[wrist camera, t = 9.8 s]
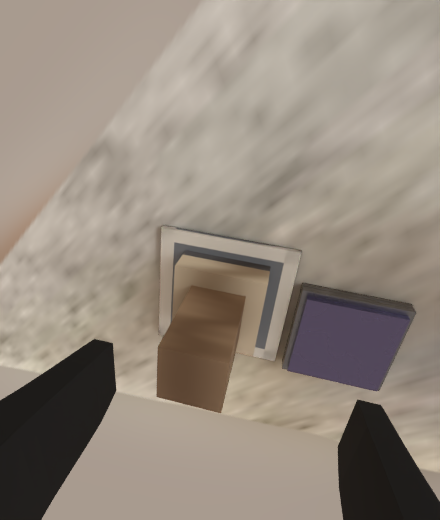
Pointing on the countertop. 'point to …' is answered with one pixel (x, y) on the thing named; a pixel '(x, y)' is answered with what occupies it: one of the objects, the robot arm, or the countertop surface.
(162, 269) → the print mark
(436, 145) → the countertop surface
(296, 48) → the countertop surface
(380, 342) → the ink pad
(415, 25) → the countertop surface
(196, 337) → the stamp
